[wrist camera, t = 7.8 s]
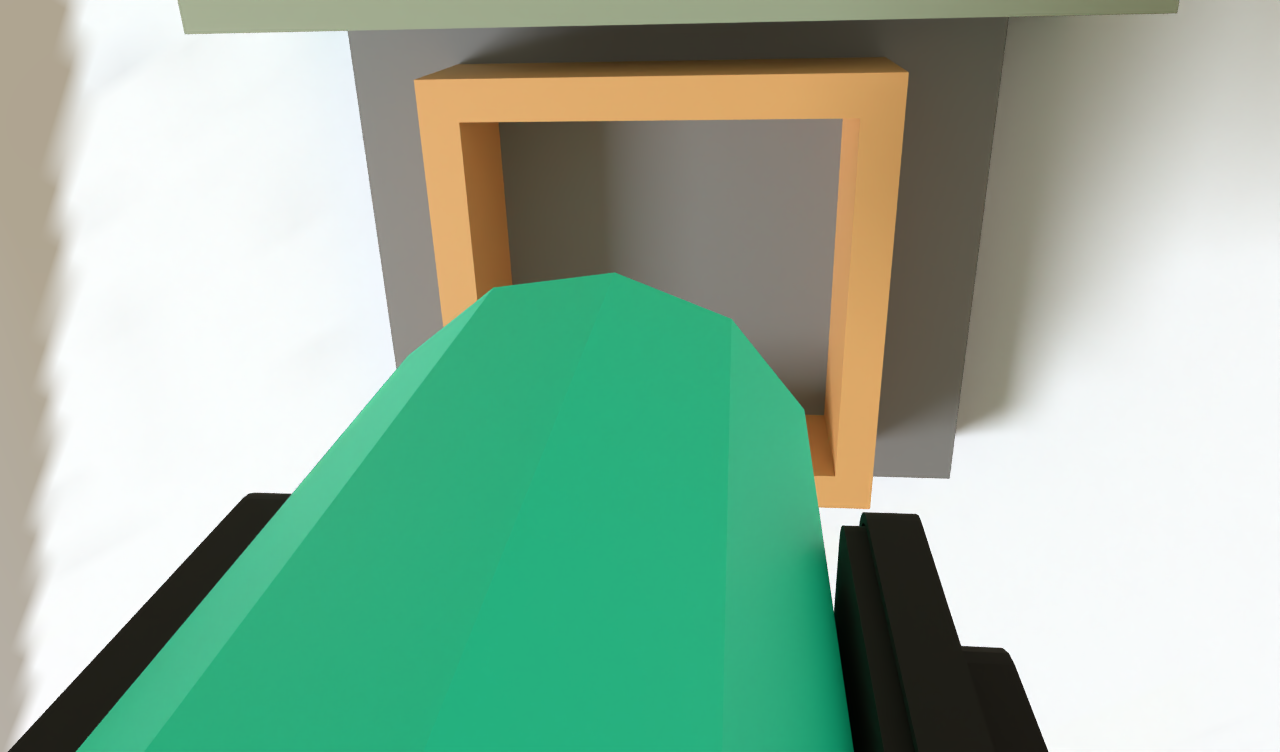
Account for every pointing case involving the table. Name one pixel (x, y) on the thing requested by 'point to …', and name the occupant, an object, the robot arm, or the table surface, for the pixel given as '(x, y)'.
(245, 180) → the table surface
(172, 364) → the table surface
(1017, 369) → the table surface
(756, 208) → the desk organizer
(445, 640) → the candle
